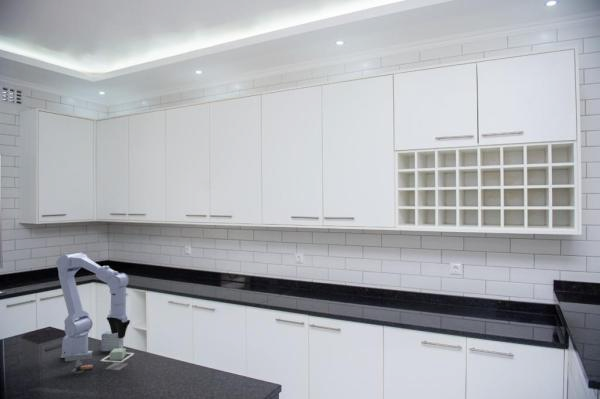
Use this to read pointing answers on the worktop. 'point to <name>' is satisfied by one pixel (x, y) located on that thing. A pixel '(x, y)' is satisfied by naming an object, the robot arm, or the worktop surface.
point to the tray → (116, 361)
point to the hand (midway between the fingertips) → (118, 335)
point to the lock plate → (113, 367)
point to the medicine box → (111, 341)
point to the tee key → (79, 360)
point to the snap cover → (117, 354)
